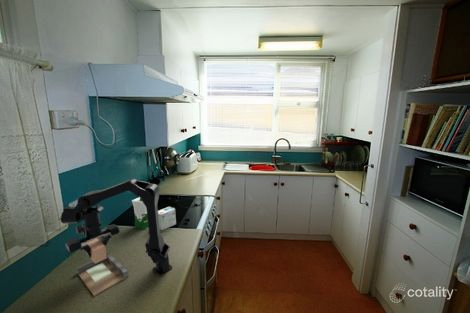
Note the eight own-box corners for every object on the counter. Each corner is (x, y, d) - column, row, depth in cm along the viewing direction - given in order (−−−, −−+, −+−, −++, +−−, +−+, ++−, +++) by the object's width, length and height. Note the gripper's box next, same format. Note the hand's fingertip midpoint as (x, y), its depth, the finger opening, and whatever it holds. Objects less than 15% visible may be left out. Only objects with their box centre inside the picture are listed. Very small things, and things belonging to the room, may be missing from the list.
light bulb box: (170, 221, 140) (169, 205, 139) (176, 224, 136) (175, 208, 134) (155, 227, 132) (154, 211, 130) (161, 230, 128) (160, 214, 126)
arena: (128, 276, 91) (127, 270, 90) (94, 296, 81) (93, 289, 80) (109, 258, 103) (108, 252, 103) (77, 273, 93) (76, 267, 93)
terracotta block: (98, 250, 96) (97, 238, 95) (106, 258, 91) (105, 245, 90) (87, 255, 93) (85, 243, 92) (94, 263, 87) (93, 250, 86)
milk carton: (143, 230, 129) (140, 199, 125) (132, 227, 132) (129, 197, 129) (153, 223, 137) (151, 194, 133) (143, 221, 140) (140, 192, 137)
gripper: (108, 209, 101) (111, 238, 104) (59, 224, 87) (64, 258, 89) (118, 215, 94) (122, 247, 97) (66, 233, 80) (72, 269, 83)
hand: (96, 254), depth 92 cm, fingers closed on terracotta block, 4 cm apart
